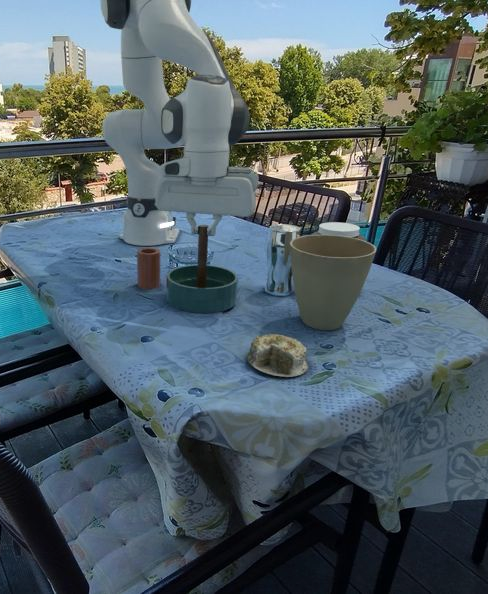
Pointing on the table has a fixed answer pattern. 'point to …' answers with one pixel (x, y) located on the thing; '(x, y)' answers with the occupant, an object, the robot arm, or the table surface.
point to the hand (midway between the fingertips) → (203, 234)
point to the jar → (339, 230)
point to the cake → (278, 355)
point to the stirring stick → (202, 256)
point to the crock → (148, 268)
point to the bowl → (202, 289)
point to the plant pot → (328, 277)
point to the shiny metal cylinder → (280, 259)
